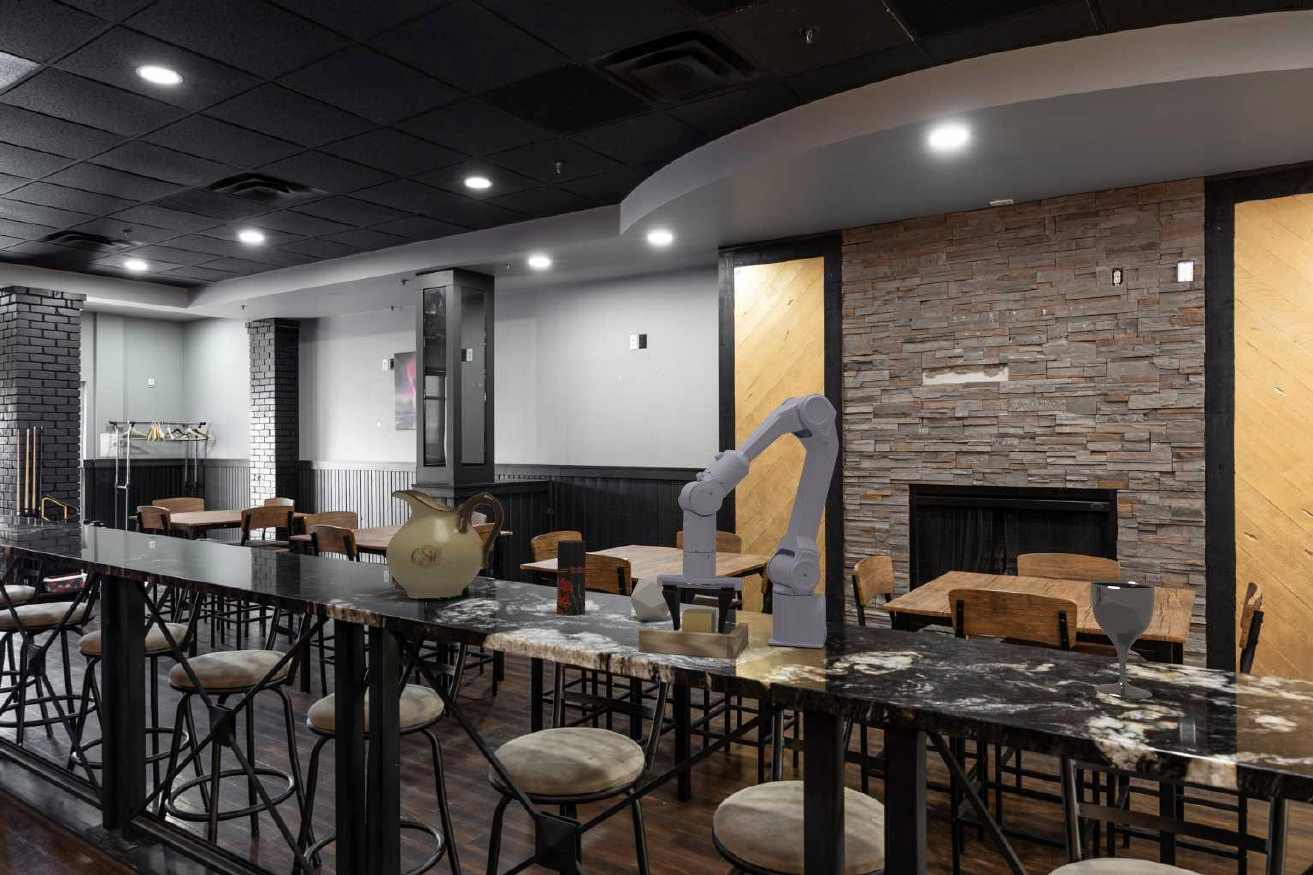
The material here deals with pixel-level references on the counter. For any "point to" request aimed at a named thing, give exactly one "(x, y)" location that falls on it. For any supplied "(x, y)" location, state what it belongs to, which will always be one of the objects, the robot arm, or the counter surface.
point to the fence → (695, 642)
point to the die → (649, 600)
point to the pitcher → (439, 545)
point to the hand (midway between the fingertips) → (698, 630)
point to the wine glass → (1122, 624)
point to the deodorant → (571, 577)
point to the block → (699, 620)
